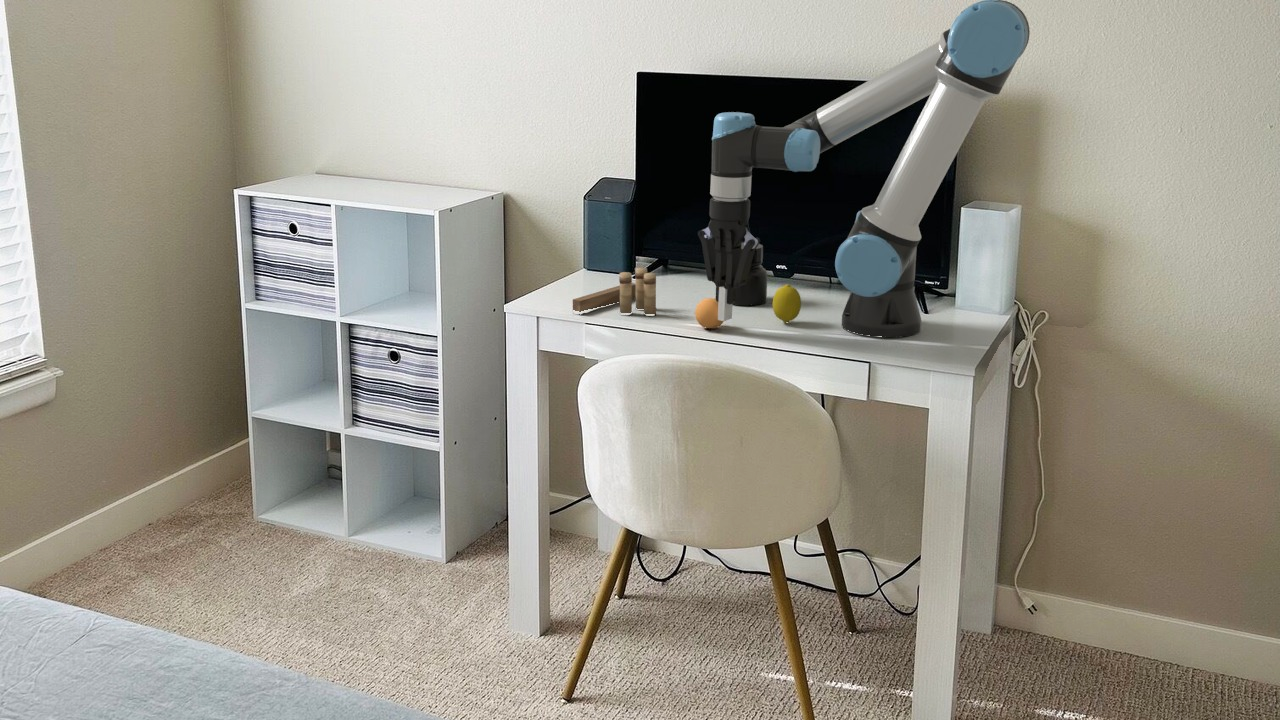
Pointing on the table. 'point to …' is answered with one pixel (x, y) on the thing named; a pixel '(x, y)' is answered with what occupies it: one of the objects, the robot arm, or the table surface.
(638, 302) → the pin
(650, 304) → the pin front
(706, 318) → the ball
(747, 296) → the ink bottle
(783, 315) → the lemon
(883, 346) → the table surface
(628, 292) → the pin
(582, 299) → the rail
